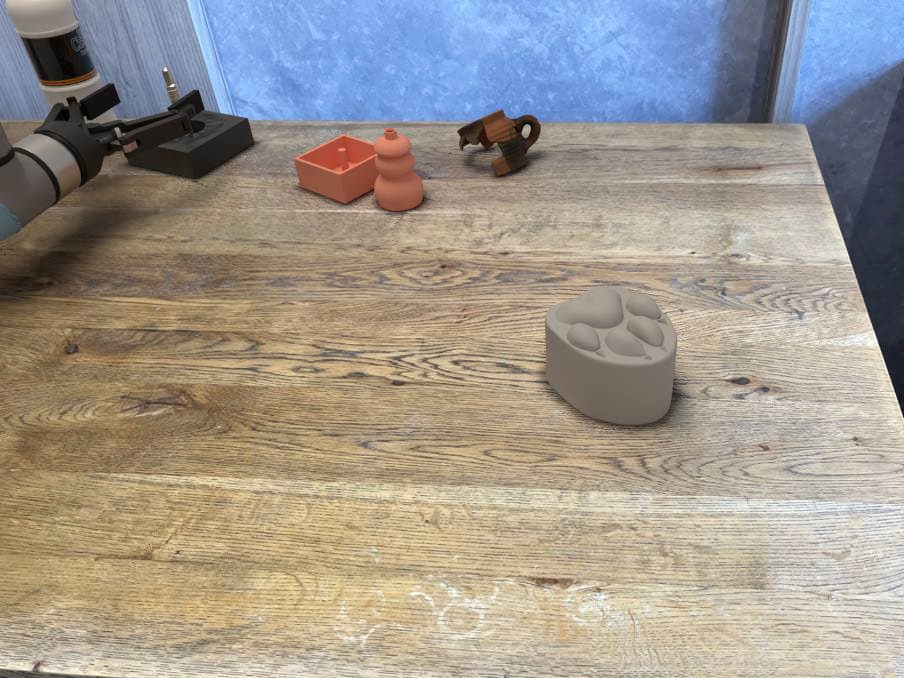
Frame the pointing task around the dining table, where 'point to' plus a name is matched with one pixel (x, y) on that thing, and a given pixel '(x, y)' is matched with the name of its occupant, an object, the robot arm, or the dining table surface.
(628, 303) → the lumpy-topped squat cylinder
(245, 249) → the dining table surface
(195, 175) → the hole plate
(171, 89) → the screw
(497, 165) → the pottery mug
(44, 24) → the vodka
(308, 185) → the pottery
